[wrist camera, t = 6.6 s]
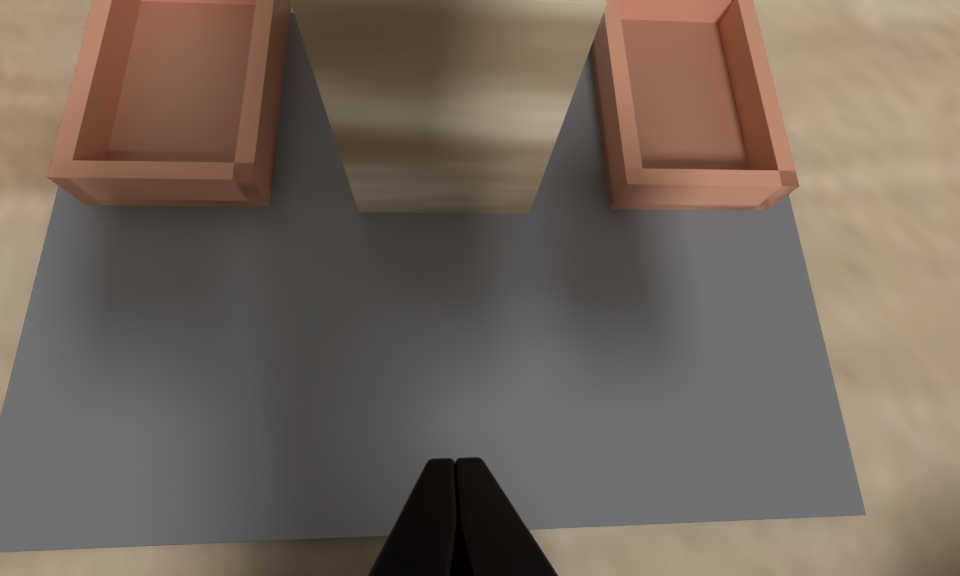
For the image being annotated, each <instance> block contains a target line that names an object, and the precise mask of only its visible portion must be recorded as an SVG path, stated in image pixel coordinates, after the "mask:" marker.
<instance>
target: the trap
mask: <svg viewBox="0 0 960 576" xmlns="http://www.w3.org/2000/svg"><path fill="white" fill-rule="evenodd" d="M290 14H291V2H290V0H93V3H92V7H91V11H90V14H89V18H88V22H87V26H86V30H85V34H84V37H83V41H82V45H81V49H80V53H79V57H78V60H77V64H76V68H75V72H74V76H73V80H72V83H71V87H70V91H69V95H68V99H67V103H66V106H65V110H64V114H63V118H62V122H61V126H60V129H59V133H58V137H57V141H56V145H55V149H54V152H53V156H52V160H51V164H50V168H49V172H48V175H47V178H49V179H50V180H51V181H53V182H54V183H56V184H57V185H58V186H60V187H61V188H63V189H64V190H65V191H67V192H68V193H70V194H71V195H72V196H74V197H75V198H76V199H78V200H79V201H81V202H82V203H83V204H85V205H151V206H270V201H271V191H272V182H273V173H274V163H275V154H276V145H277V135H278V126H279V117H280V107H281V98H282V88H283V79H284V70H285V60H286V51H287V42H288V32H289V23H290Z"/></svg>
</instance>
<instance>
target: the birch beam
mask: <svg viewBox="0 0 960 576" xmlns="http://www.w3.org/2000/svg"><path fill="white" fill-rule="evenodd" d="M290 2H291V5H292V8H293V11H294V15H295V18H296V21H297V24H298V27H299V30H300V33H301V36H302V39H303V42H304V45H305V48H306V52H307V55H308V58H309V61H310V64H311V67H312V70H313V73H314V76H315V79H316V82H317V85H318V89H319V92H320V95H321V98H322V101H323V104H324V107H325V110H326V113H327V116H328V119H329V122H330V126H331V129H332V132H333V135H334V138H335V141H336V144H337V147H338V150H339V153H340V156H341V159H342V163H343V166H344V169H345V172H346V175H347V178H348V181H349V184H350V187H351V190H352V193H353V196H354V200H355V203H356V206H357V209H358V212H369V213H506V214H529V213H530V210H531V207H532V205H533V202H534V199H535V197H536V194H537V191H538V188H539V186H540V183H541V180H542V178H543V175H544V172H545V170H546V167H547V164H548V161H549V159H550V156H551V153H552V151H553V148H554V145H555V143H556V140H557V137H558V134H559V132H560V129H561V126H562V124H563V121H564V118H565V115H566V113H567V110H568V107H569V105H570V102H571V99H572V97H573V94H574V91H575V88H576V86H577V83H578V80H579V78H580V75H581V72H582V69H583V67H584V64H585V61H586V59H587V56H588V53H589V51H590V48H591V45H592V42H593V40H594V37H595V34H596V32H597V29H598V26H599V24H600V21H601V18H602V15H603V13H604V10H605V7H606V5H607V4H606V0H290Z"/></svg>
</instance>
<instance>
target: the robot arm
mask: <svg viewBox="0 0 960 576" xmlns="http://www.w3.org/2000/svg"><path fill="white" fill-rule="evenodd" d="M368 576H558V575H557V573H556V572H555V570H554V569H553V567H552V566H551V564H550V562H549V561H548V559H547V558H546V556H545V555H544V553H543V552H542V550H541V549H540V547H539V545H538V544H537V542H536V541H535V539H534V538H533V536H532V535H531V533H530V532H529V530H528V528H527V527H526V525H525V524H524V522H523V521H522V519H521V518H520V516H519V515H518V513H517V512H516V510H515V508H514V507H513V505H512V504H511V502H510V501H509V499H508V498H507V496H506V495H505V493H504V491H503V490H502V488H501V487H500V485H499V484H498V482H497V481H496V479H495V478H494V476H493V474H492V473H491V471H490V470H489V468H488V467H487V465H486V464H485V462H484V461H483V460H482V459H481V458H479V457H464V458H458V459H456V461H454V459H452V458H433V459H430V460H428V462H427V463H426V465H425V467H424V469H423V470H422V472H421V474H420V476H419V478H418V480H417V482H416V484H415V486H414V488H413V490H412V492H411V494H410V496H409V497H408V499H407V501H406V503H405V505H404V507H403V509H402V511H401V513H400V515H399V517H398V519H397V521H396V523H395V525H394V526H393V528H392V530H391V532H390V534H389V536H388V538H387V540H386V542H385V544H384V546H383V548H382V550H381V552H380V554H379V555H378V557H377V559H376V561H375V563H374V565H373V567H372V569H371V571H370V573H369V575H368Z"/></svg>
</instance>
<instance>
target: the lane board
mask: <svg viewBox="0 0 960 576" xmlns="http://www.w3.org/2000/svg"><path fill="white" fill-rule="evenodd" d="M464 457H479V458H481V459H482V460H483V461H484V462H485V464H486V465H487V467H488V468H489V470H490V471H491V473H492V474H493V476H494V478H495V479H496V481H497V482H498V484H499V485H500V487H501V488H502V490H503V491H504V493H505V495H506V496H507V498H508V499H509V501H510V502H511V504H512V505H513V507H514V508H515V510H516V512H517V513H518V515H519V516H520V518H521V519H522V521H523V522H524V524H525V525H526V527H527V528H528V530H531V529H554V528H577V527H600V526H623V525H647V524H670V523H693V522H716V521H739V520H763V519H786V518H809V517H832V516H855V515H866V514H865V509H864V505H863V501H862V497H861V493H860V489H859V484H858V480H857V476H856V472H855V468H854V464H853V460H852V455H851V451H850V447H849V443H848V439H847V435H846V431H845V426H844V422H843V418H842V414H841V410H840V406H839V401H838V397H837V393H836V389H835V385H834V381H833V377H832V372H831V368H830V364H829V360H828V356H827V352H826V347H825V343H824V339H823V335H822V331H821V327H820V323H819V318H818V314H817V310H816V306H815V302H814V298H813V293H812V289H811V285H810V281H809V277H808V273H807V269H806V264H805V260H804V256H803V252H802V248H801V244H800V240H799V235H798V231H797V227H796V223H795V219H794V215H793V210H792V206H791V202H790V198H789V194H788V195H787V196H786V197H784V198H783V199H782V200H780V201H779V202H778V203H776V204H775V205H774V206H772V207H771V208H770V209H768V210H661V209H610V204H609V196H608V187H607V179H606V170H605V162H604V154H603V145H602V137H601V129H600V120H599V112H598V104H597V95H596V87H595V79H594V70H593V62H592V53H591V48H590V51H589V53H588V56H587V59H586V61H585V64H584V67H583V69H582V72H581V75H580V78H579V80H578V83H577V86H576V88H575V91H574V94H573V97H572V99H571V102H570V105H569V107H568V110H567V113H566V115H565V118H564V121H563V124H562V126H561V129H560V132H559V134H558V137H557V140H556V143H555V145H554V148H553V151H552V153H551V156H550V159H549V161H548V164H547V167H546V170H545V172H544V175H543V178H542V180H541V183H540V186H539V188H538V191H537V194H536V197H535V199H534V202H533V205H532V207H531V210H530V213H529V214H506V213H369V212H358V209H357V206H356V203H355V200H354V196H353V193H352V190H351V187H350V184H349V181H348V178H347V175H346V172H345V169H344V166H343V163H342V159H341V156H340V153H339V150H338V147H337V144H336V141H335V138H334V135H333V132H332V129H331V126H330V122H329V119H328V116H327V113H326V110H325V107H324V104H323V101H322V98H321V95H320V92H319V89H318V85H317V82H316V79H315V76H314V73H313V70H312V67H311V64H310V61H309V58H308V55H307V52H306V48H305V45H304V42H303V39H302V36H301V33H300V30H299V27H298V24H297V21H296V18H295V15H294V11H293V8H292V5H291V14H290V23H289V32H288V42H287V51H286V60H285V70H284V79H283V88H282V98H281V107H280V117H279V126H278V135H277V145H276V154H275V163H274V173H273V182H272V191H271V201H270V206H151V205H85V204H83V203H82V202H81V201H79V200H78V199H76V198H75V197H74V196H72V195H71V194H70V193H68V192H67V191H65V190H64V189H63V188H61V187H60V186H58V190H57V194H56V198H55V202H54V206H53V210H52V214H51V218H50V222H49V226H48V230H47V234H46V238H45V242H44V246H43V250H42V254H41V258H40V262H39V266H38V270H37V274H36V278H35V282H34V286H33V290H32V294H31V298H30V302H29V306H28V309H27V313H26V317H25V321H24V325H23V329H22V333H21V337H20V341H19V345H18V349H17V353H16V357H15V361H14V365H13V369H12V373H11V377H10V381H9V385H8V389H7V393H6V397H5V401H4V405H3V409H2V413H1V417H0V552H20V551H43V550H66V549H90V548H113V547H136V546H159V545H182V544H206V543H229V542H252V541H275V540H298V539H322V538H345V537H368V536H389V534H390V532H391V530H392V528H393V526H394V525H395V523H396V521H397V519H398V517H399V515H400V513H401V511H402V509H403V507H404V505H405V503H406V501H407V499H408V497H409V496H410V494H411V492H412V490H413V488H414V486H415V484H416V482H417V480H418V478H419V476H420V474H421V472H422V470H423V469H424V467H425V465H426V463H427V462H428V460H430V459H433V458H452V459H454V461H456V459H458V458H464Z"/></svg>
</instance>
